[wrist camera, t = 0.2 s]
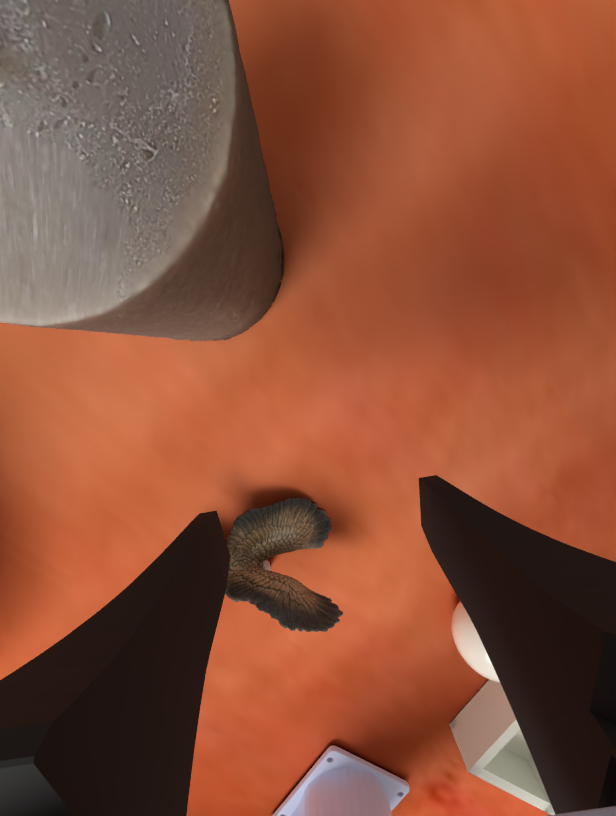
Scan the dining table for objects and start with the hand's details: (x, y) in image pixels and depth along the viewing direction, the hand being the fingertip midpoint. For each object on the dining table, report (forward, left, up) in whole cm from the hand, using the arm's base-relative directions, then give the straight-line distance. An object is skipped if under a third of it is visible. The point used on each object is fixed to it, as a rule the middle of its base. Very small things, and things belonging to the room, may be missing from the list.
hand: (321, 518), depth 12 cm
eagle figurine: (-8, -1, -11) cm, 14 cm away
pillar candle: (+6, +12, -11) cm, 17 cm away
